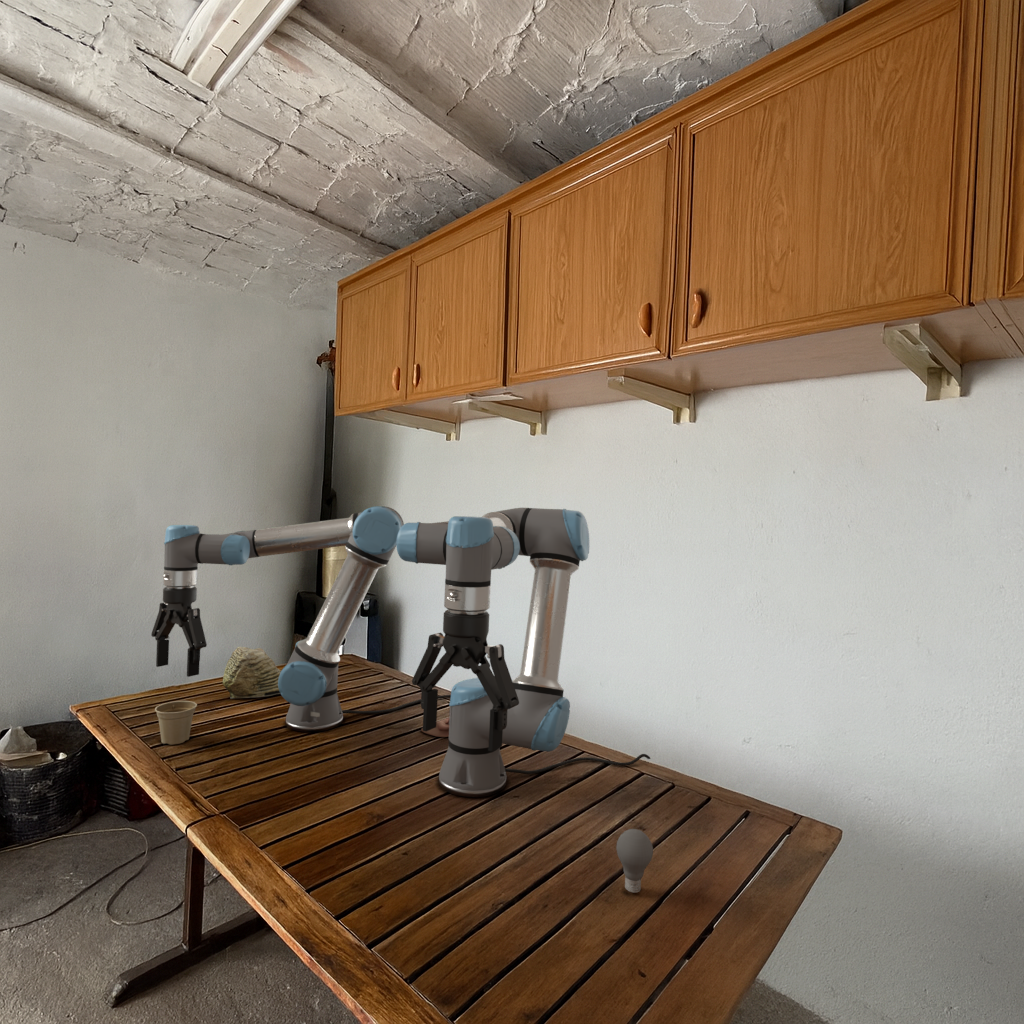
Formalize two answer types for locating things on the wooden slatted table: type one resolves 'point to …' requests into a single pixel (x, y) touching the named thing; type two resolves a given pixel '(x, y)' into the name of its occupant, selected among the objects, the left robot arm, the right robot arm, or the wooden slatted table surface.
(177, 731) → the plastic plant pot
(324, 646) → the left robot arm
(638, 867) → the light bulb
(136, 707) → the wooden slatted table surface
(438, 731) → the anatomical model
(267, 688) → the fossil
